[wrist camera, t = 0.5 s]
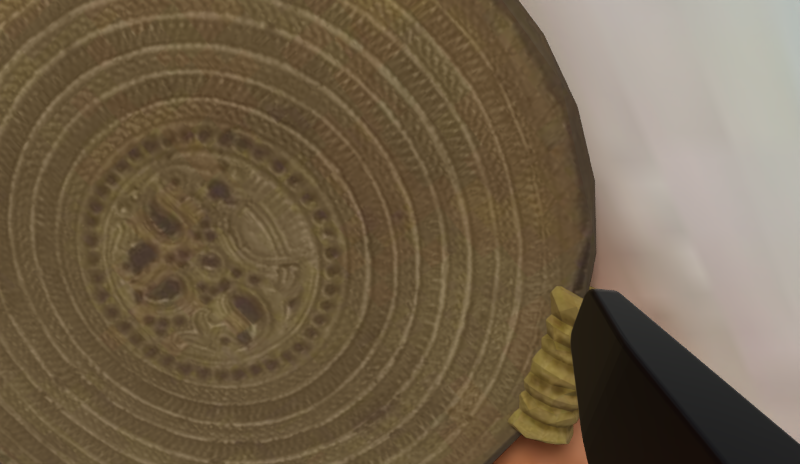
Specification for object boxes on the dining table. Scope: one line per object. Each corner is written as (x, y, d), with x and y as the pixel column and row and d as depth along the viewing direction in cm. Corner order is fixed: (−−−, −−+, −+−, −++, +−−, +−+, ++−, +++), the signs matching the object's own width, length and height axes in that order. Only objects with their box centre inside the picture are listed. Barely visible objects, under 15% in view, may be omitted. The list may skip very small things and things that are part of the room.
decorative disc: (-233, -287, 18) (772, -63, 19) (-137, -239, 21) (722, -50, 23) (-166, 518, 27) (531, 637, 28) (-105, 466, 30) (518, 575, 31)
